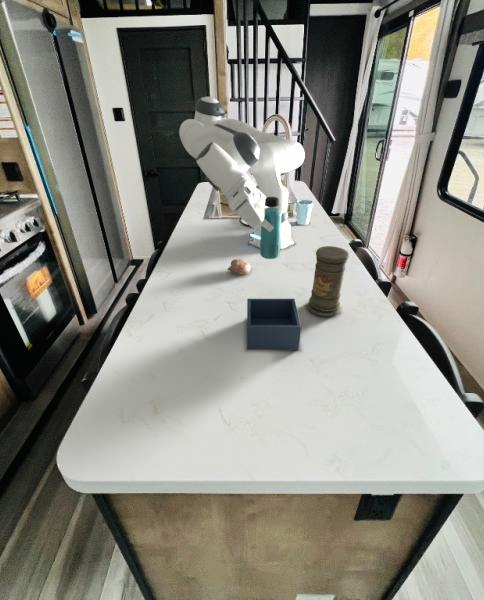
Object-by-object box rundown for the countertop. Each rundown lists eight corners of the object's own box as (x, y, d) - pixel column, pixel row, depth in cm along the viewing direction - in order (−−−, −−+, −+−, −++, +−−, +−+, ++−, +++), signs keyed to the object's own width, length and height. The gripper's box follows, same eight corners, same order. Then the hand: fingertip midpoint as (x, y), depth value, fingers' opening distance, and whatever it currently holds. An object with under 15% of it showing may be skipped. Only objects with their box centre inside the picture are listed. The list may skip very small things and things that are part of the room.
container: (318, 297, 99) (327, 242, 89) (344, 308, 93) (356, 251, 84) (301, 308, 94) (308, 251, 84) (328, 321, 88) (338, 262, 78)
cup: (300, 226, 152) (302, 205, 147) (291, 222, 158) (293, 201, 153) (313, 224, 155) (316, 202, 149) (304, 220, 161) (306, 199, 155)
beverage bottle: (278, 264, 102) (282, 201, 90) (257, 262, 103) (259, 200, 92) (280, 255, 107) (284, 195, 96) (260, 253, 108) (262, 194, 97)
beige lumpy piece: (226, 277, 110) (248, 273, 108) (223, 260, 109) (245, 255, 107) (232, 277, 117) (253, 273, 115) (229, 261, 117) (250, 256, 115)
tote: (247, 319, 89) (247, 298, 85) (292, 319, 89) (294, 298, 85) (247, 349, 78) (247, 327, 75) (298, 350, 78) (301, 327, 74)
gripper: (241, 190, 105) (269, 221, 109) (227, 209, 88) (261, 244, 92) (254, 177, 102) (283, 209, 106) (243, 193, 85) (277, 230, 89)
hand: (273, 225), depth 99 cm, fingers closed on beverage bottle, 5 cm apart
